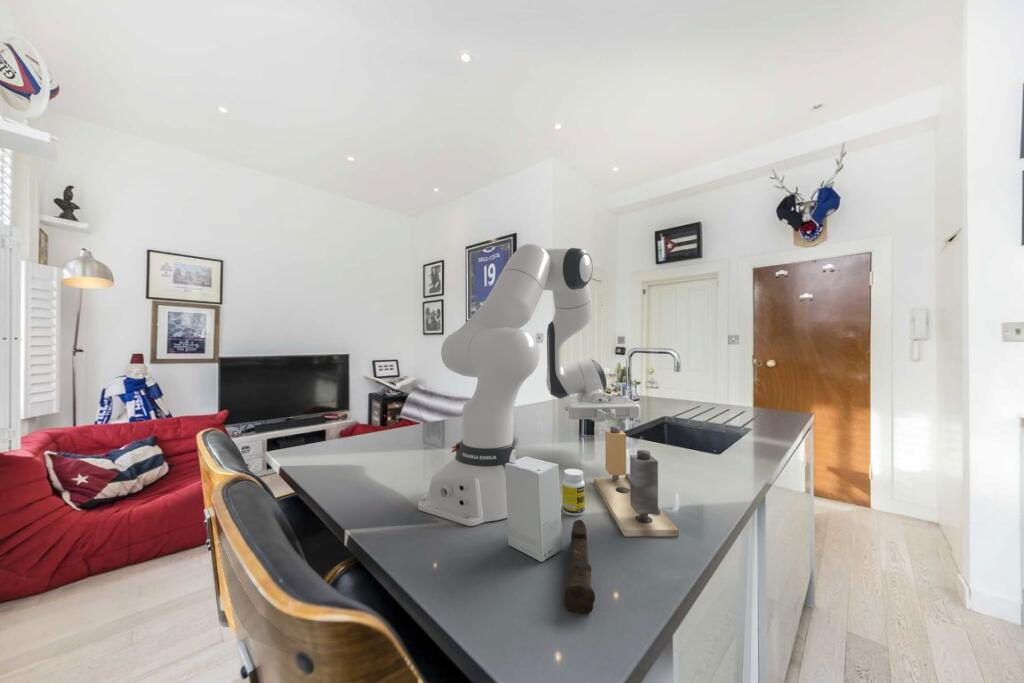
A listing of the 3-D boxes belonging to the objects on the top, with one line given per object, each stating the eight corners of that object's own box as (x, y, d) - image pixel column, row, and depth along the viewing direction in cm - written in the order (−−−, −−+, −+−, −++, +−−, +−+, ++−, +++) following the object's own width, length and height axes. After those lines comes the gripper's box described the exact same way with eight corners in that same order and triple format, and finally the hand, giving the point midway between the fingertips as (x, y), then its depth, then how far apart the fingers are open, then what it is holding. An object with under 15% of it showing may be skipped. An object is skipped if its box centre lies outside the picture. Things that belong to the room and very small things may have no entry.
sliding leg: (609, 482, 90) (609, 429, 90) (605, 476, 94) (605, 425, 94) (626, 482, 90) (625, 429, 90) (621, 476, 94) (621, 425, 94)
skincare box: (563, 550, 64) (562, 464, 64) (540, 565, 60) (539, 473, 60) (527, 532, 70) (527, 453, 70) (504, 544, 66) (504, 461, 66)
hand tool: (594, 619, 48) (594, 583, 48) (563, 614, 49) (564, 579, 49) (594, 542, 67) (595, 516, 67) (572, 539, 68) (572, 514, 68)
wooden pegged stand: (624, 536, 68) (624, 458, 68) (593, 482, 94) (593, 425, 94) (678, 536, 68) (678, 458, 68) (633, 482, 94) (632, 425, 94)
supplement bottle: (579, 518, 75) (579, 477, 75) (558, 513, 78) (558, 473, 78) (588, 509, 79) (588, 470, 79) (567, 504, 82) (567, 466, 82)
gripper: (563, 396, 112) (570, 405, 99) (630, 395, 112) (647, 403, 98) (563, 417, 112) (570, 428, 99) (631, 416, 112) (647, 427, 99)
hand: (609, 416), depth 99 cm, fingers closed
